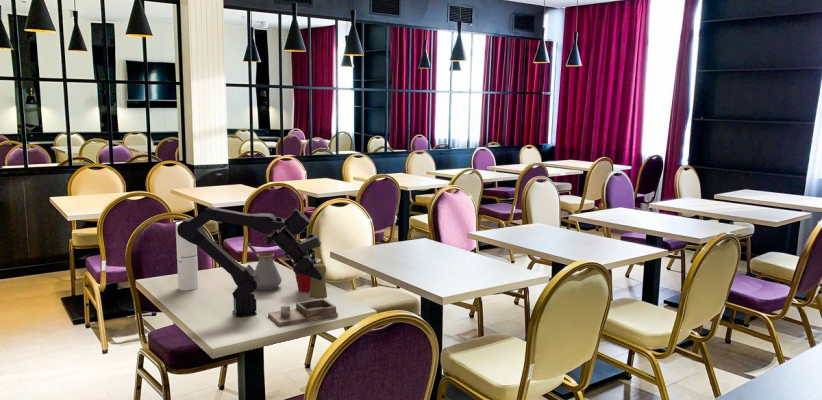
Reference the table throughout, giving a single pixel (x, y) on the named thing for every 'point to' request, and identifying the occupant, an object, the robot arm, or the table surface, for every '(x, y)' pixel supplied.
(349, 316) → the table surface
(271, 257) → the coffee pot
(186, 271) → the cylindrical container
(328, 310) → the cruet holder
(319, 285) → the cork
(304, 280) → the plastic cup
